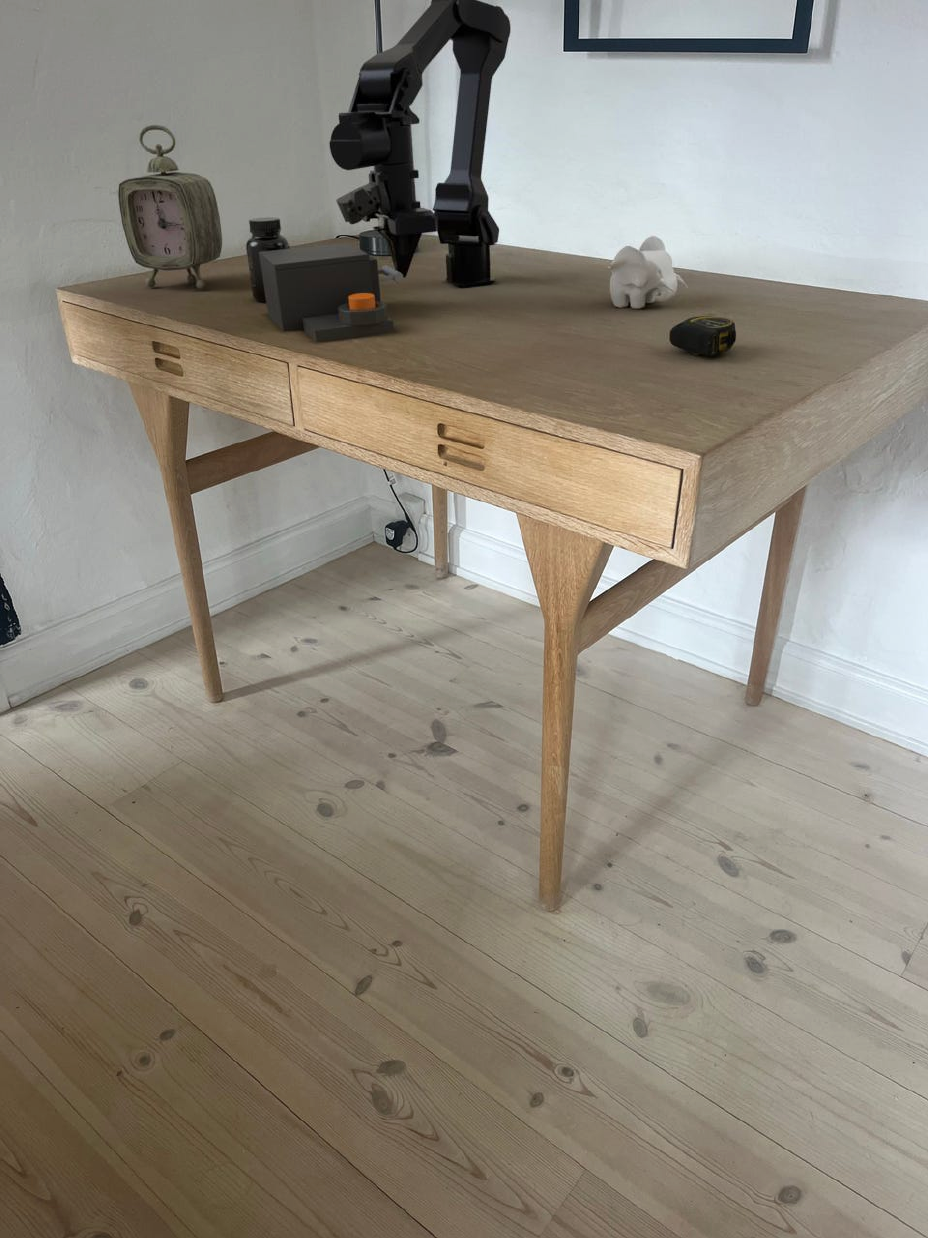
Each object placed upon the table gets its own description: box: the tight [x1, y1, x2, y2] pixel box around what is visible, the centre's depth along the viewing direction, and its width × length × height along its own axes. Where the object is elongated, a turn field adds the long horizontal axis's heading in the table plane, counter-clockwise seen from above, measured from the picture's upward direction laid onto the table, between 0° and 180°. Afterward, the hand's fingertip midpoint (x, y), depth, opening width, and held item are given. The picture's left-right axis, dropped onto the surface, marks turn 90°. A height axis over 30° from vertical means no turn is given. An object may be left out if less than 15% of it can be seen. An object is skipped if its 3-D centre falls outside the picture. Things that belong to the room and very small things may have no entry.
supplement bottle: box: [245, 216, 291, 303], centre depth 146 cm, size 7×7×12 cm
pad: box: [302, 301, 394, 343], centre depth 128 cm, size 11×9×4 cm
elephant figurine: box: [606, 235, 688, 310], centre depth 133 cm, size 10×12×9 cm
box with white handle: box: [369, 254, 404, 302], centre depth 136 cm, size 17×10×7 cm, turn 111°
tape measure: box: [668, 315, 737, 357], centre depth 112 cm, size 7×7×4 cm
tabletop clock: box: [117, 124, 223, 291], centre depth 155 cm, size 14×9×25 cm, turn 68°
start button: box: [348, 293, 375, 310], centre depth 126 cm, size 4×4×2 cm
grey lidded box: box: [259, 242, 373, 332], centre depth 135 cm, size 14×12×9 cm
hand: (401, 277), depth 139 cm, fingers closed, pressing on box with white handle
